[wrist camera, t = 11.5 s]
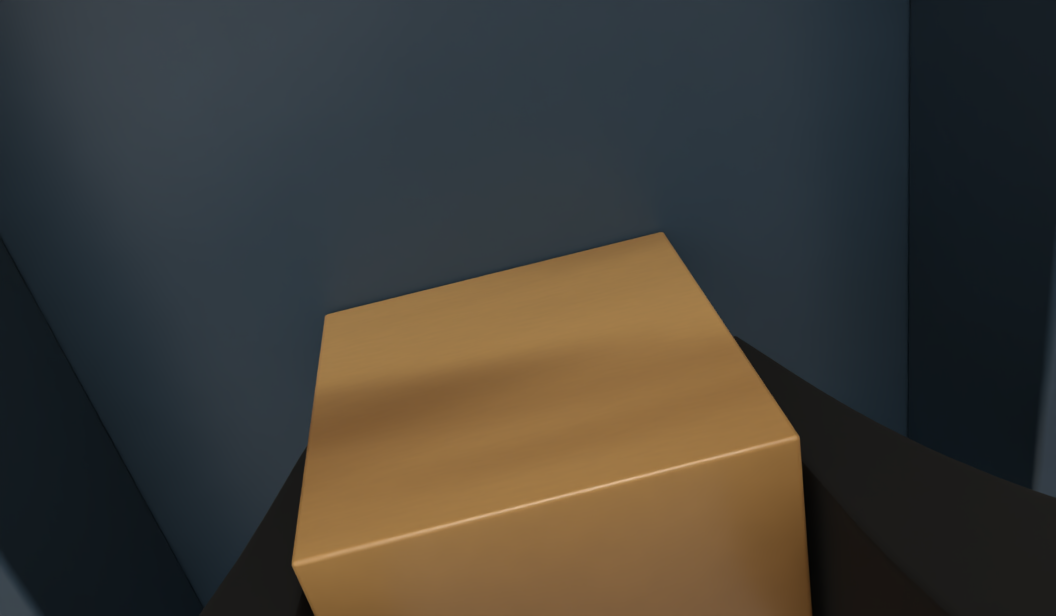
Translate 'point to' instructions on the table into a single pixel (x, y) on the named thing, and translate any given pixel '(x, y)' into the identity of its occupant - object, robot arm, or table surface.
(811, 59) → the bin
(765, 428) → the maple block
